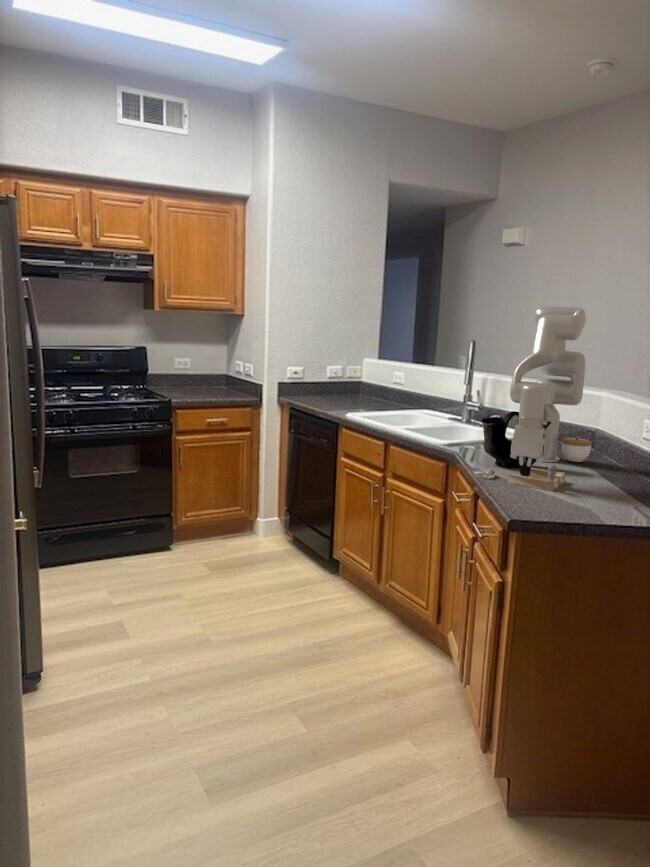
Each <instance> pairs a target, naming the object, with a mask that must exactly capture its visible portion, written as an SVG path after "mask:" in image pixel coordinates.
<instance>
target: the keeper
mask: <svg viewBox="0 0 650 867" xmlns="http://www.w3.org/2000/svg"><path fill="white" fill-rule="evenodd" d="M556 467H557V466H556V465H553V464H550V465H548V469H541V468H535V467H531V471H530V476H528V477H526V476H521V474H513V473H510V474H508V480H507V481H508V482H507V483H508V484H511V485H516V486H521V487H527V488H534V489H537V490H544V491H548V492H554V489H555V490H556V489H557V488H559V487H560V486H562V484H564V483H565V477H566V473H565V472H560V471H556V470H557V469H556ZM563 482H564V483H563ZM559 485H560V486H559Z"/></svg>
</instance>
